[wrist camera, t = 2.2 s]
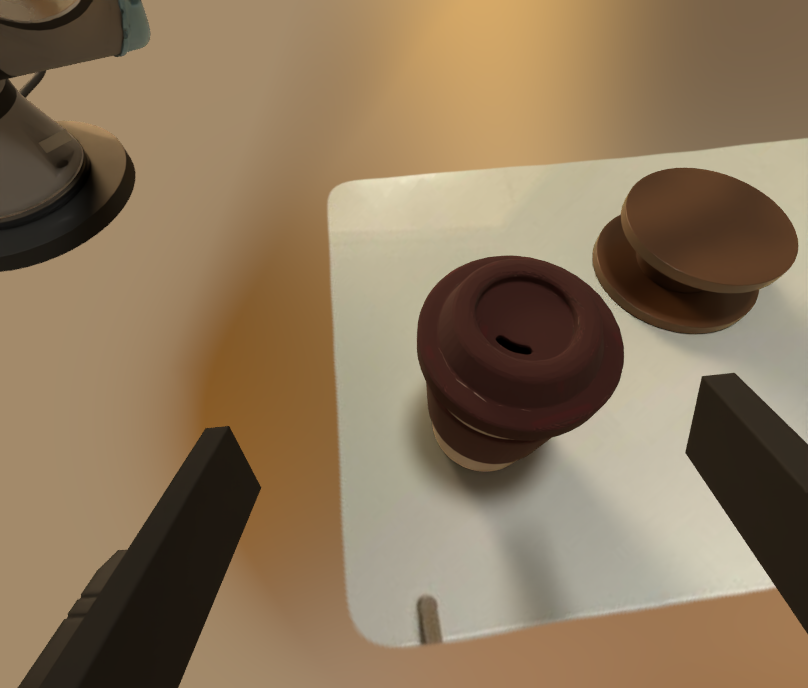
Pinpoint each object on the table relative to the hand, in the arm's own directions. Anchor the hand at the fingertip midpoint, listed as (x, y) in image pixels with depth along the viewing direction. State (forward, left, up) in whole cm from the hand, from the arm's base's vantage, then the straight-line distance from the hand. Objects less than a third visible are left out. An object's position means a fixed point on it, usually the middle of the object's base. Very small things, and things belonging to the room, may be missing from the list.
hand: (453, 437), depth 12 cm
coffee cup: (-2, +8, -19) cm, 21 cm away
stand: (0, +32, -19) cm, 37 cm away
